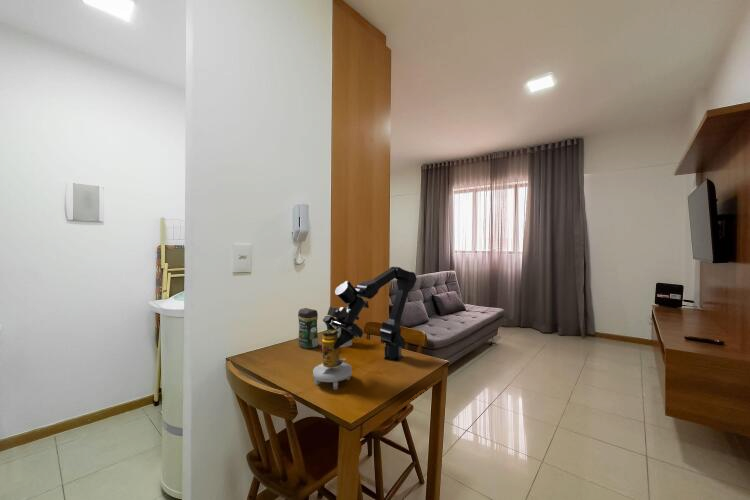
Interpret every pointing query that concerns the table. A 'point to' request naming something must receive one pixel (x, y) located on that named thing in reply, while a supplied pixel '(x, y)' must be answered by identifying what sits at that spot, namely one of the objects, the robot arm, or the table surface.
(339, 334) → the glass holder
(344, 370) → the round white stand
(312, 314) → the coffee jar
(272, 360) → the table surface
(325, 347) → the condiment
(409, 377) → the table surface
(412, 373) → the table surface
